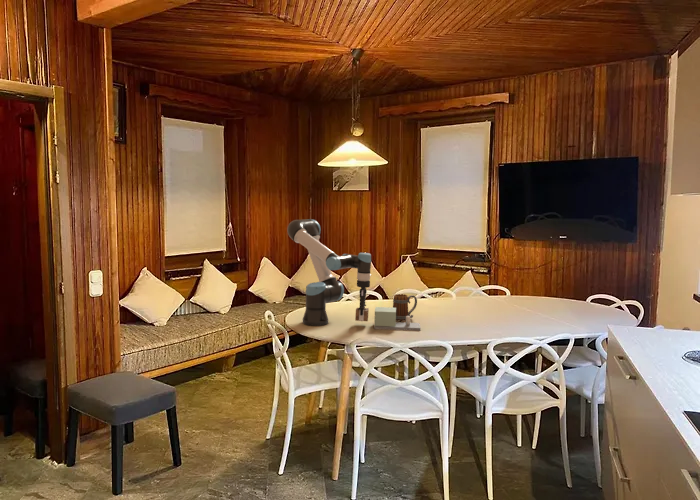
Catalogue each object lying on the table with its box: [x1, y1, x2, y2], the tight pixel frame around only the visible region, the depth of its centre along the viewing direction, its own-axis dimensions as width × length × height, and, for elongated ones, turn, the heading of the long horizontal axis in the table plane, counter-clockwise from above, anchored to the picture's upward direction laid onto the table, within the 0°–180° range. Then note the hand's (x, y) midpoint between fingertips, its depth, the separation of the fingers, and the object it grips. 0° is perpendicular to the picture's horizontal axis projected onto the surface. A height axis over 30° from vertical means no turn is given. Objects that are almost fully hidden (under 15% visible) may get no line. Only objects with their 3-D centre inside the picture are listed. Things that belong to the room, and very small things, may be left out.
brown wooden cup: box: [354, 307, 369, 322], centre depth 318 cm, size 7×7×6 cm
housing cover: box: [373, 306, 397, 327], centre depth 317 cm, size 12×12×8 cm
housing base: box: [373, 315, 421, 332], centre depth 316 cm, size 26×12×6 cm, turn 85°
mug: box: [392, 293, 418, 322], centre depth 336 cm, size 16×11×15 cm
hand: (361, 318), depth 318 cm, fingers closed on brown wooden cup, 7 cm apart
